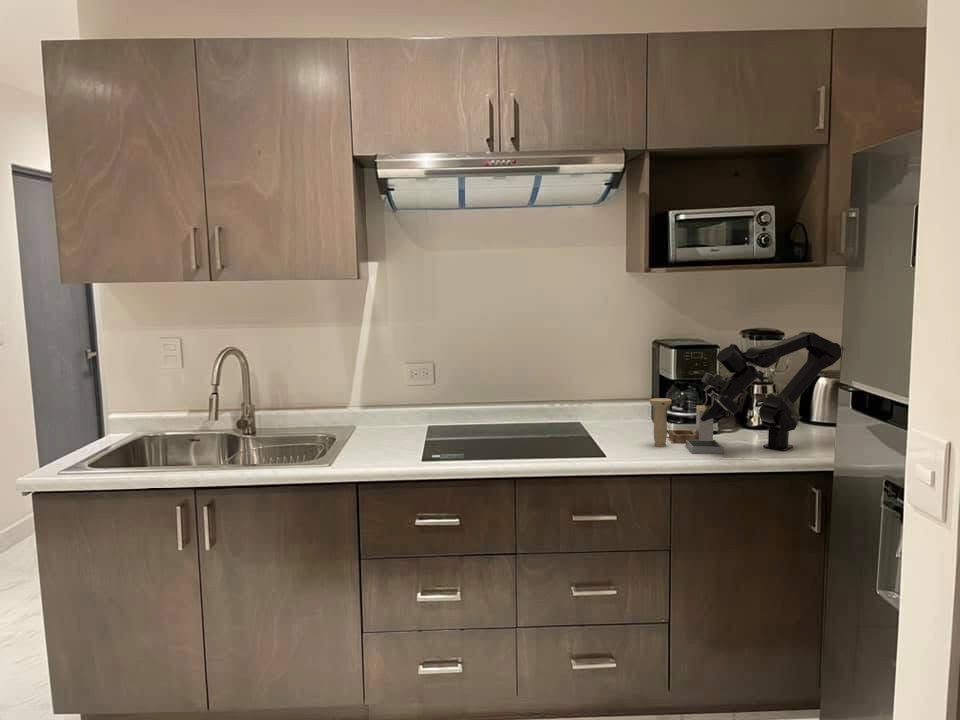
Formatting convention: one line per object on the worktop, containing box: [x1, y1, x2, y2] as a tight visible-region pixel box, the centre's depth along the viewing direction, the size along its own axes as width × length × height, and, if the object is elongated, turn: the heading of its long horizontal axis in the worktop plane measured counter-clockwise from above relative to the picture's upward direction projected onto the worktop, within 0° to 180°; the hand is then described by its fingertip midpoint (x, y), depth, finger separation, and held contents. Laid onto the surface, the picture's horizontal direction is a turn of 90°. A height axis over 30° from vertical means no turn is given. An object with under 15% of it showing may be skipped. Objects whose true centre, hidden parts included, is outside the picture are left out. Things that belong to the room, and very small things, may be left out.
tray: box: [685, 439, 724, 455], centre depth 202 cm, size 9×9×2 cm
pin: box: [695, 404, 714, 441], centre depth 201 cm, size 4×4×10 cm
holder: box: [666, 429, 698, 445], centre depth 214 cm, size 9×9×3 cm
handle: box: [649, 397, 672, 448], centre depth 207 cm, size 5×6×15 cm
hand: (699, 418), depth 201 cm, fingers closed on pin, 4 cm apart
